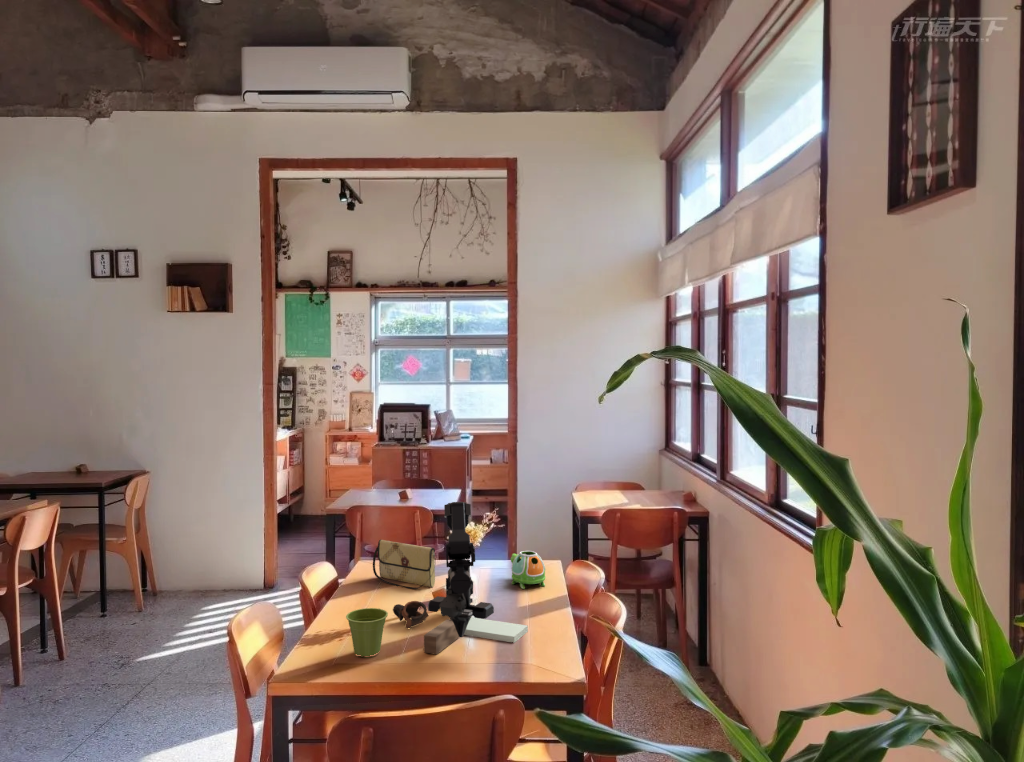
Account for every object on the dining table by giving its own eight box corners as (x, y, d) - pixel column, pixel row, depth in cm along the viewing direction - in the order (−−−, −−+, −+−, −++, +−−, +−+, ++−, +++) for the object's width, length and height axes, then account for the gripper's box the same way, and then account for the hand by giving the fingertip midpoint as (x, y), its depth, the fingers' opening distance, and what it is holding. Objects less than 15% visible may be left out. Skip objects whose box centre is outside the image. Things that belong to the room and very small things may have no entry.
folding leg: (450, 633, 225) (449, 616, 225) (461, 635, 223) (461, 618, 223) (424, 652, 210) (423, 634, 210) (436, 654, 209) (436, 636, 209)
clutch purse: (368, 580, 283) (367, 542, 282) (381, 576, 289) (380, 538, 288) (428, 592, 266) (427, 551, 266) (440, 587, 272) (439, 547, 272)
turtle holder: (527, 574, 287) (527, 544, 287) (552, 586, 271) (551, 554, 271) (499, 579, 281) (499, 548, 281) (523, 592, 265) (522, 559, 265)
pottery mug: (431, 619, 240) (433, 602, 235) (420, 642, 232) (422, 624, 227) (396, 609, 241) (398, 591, 237) (385, 630, 233) (386, 613, 229)
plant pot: (368, 664, 203) (368, 624, 203) (338, 656, 209) (337, 617, 209) (397, 650, 213) (396, 611, 213) (366, 642, 219) (366, 605, 219)
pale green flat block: (455, 633, 226) (455, 627, 225) (470, 622, 235) (470, 617, 235) (514, 642, 217) (514, 636, 217) (527, 631, 226) (527, 625, 226)
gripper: (417, 587, 206) (418, 642, 207) (476, 594, 199) (477, 651, 199) (437, 576, 217) (438, 628, 217) (494, 583, 209) (495, 637, 209)
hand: (461, 636), depth 210 cm, fingers closed
